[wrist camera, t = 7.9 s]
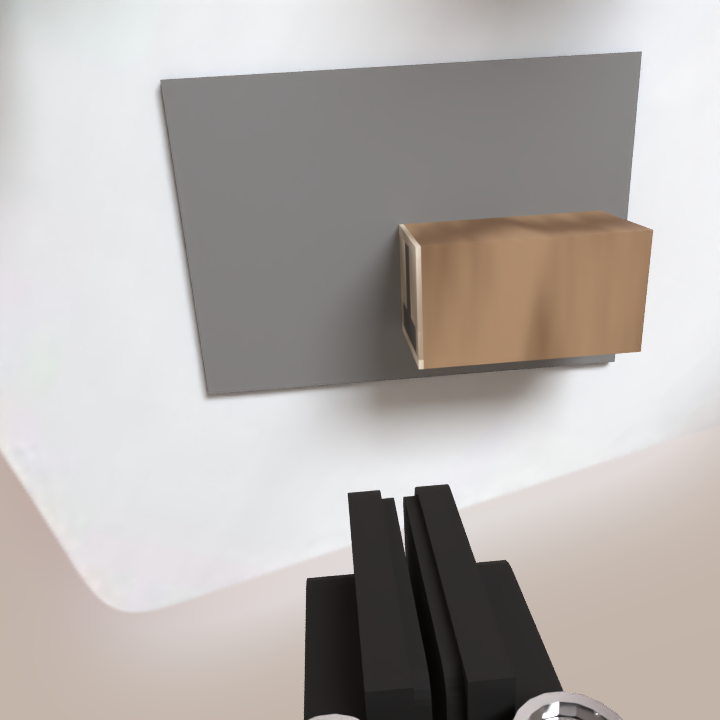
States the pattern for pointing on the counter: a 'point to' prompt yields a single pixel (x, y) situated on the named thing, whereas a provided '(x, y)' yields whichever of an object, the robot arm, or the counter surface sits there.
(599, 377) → the counter surface
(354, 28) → the counter surface
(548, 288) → the block
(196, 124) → the mat
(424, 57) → the counter surface
